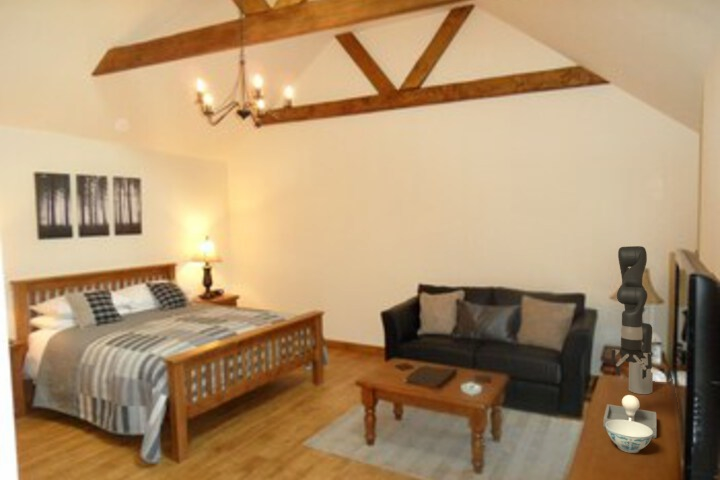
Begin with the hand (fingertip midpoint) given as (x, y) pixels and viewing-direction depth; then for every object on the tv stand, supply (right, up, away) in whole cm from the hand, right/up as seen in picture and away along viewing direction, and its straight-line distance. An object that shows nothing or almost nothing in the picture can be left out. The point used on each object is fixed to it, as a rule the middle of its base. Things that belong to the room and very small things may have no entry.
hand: (630, 376), depth 197 cm
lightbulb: (0, -19, +1) cm, 19 cm away
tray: (0, -20, +1) cm, 20 cm away
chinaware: (-12, -21, -19) cm, 31 cm away
